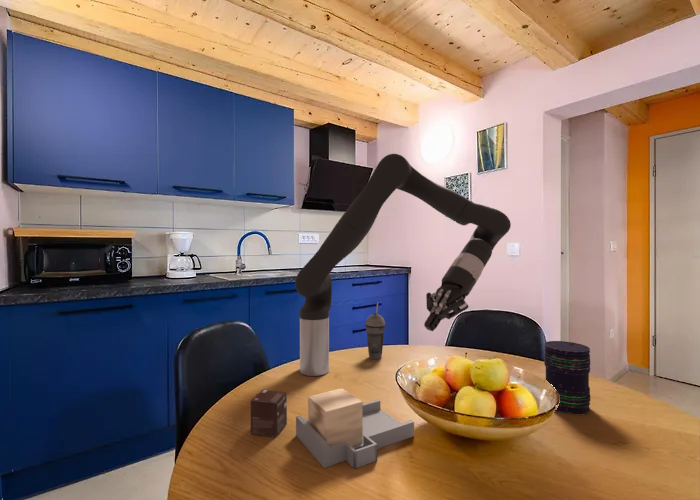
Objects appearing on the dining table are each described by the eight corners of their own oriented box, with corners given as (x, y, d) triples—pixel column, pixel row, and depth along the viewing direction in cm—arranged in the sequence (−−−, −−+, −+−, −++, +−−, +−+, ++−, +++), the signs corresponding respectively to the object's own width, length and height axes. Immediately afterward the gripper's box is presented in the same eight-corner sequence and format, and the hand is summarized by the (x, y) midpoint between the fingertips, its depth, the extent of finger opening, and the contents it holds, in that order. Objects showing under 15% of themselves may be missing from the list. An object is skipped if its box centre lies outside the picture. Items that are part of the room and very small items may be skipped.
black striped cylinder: (579, 419, 82) (580, 354, 82) (536, 404, 90) (536, 344, 90) (597, 407, 88) (597, 347, 88) (555, 394, 96) (555, 338, 96)
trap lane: (290, 429, 78) (290, 410, 78) (370, 407, 88) (370, 390, 88) (331, 477, 61) (331, 454, 61) (424, 443, 72) (424, 423, 72)
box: (276, 438, 74) (276, 402, 74) (249, 435, 75) (249, 400, 75) (287, 424, 80) (287, 391, 80) (262, 421, 81) (262, 389, 81)
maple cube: (308, 435, 73) (308, 396, 73) (342, 424, 77) (342, 388, 77) (326, 454, 66) (326, 411, 66) (362, 442, 71) (362, 401, 70)
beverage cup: (375, 353, 134) (375, 299, 134) (389, 357, 128) (389, 301, 128) (361, 357, 129) (361, 301, 129) (375, 361, 123) (375, 304, 123)
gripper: (436, 263, 97) (402, 314, 91) (476, 266, 85) (439, 325, 80) (451, 280, 100) (418, 331, 94) (491, 286, 88) (456, 344, 83)
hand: (428, 328), depth 87 cm, fingers closed
